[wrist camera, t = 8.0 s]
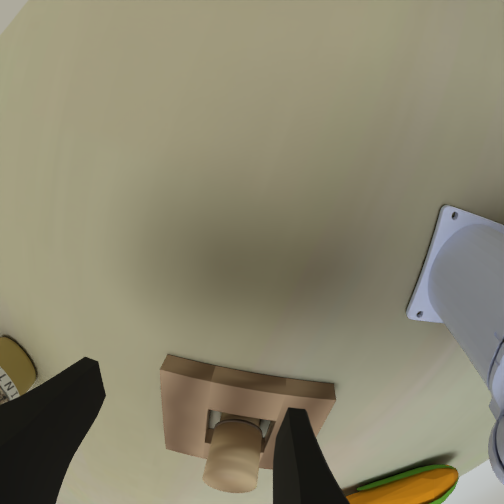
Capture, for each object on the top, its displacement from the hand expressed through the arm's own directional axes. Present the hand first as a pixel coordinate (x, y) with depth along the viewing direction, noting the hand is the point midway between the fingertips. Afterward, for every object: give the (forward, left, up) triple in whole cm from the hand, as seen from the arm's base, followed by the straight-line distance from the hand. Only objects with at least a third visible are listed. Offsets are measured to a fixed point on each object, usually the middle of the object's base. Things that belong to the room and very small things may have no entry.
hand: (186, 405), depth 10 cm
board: (-3, +13, -10) cm, 17 cm away
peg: (-3, +13, -10) cm, 16 cm away
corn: (-23, +26, -10) cm, 37 cm away
